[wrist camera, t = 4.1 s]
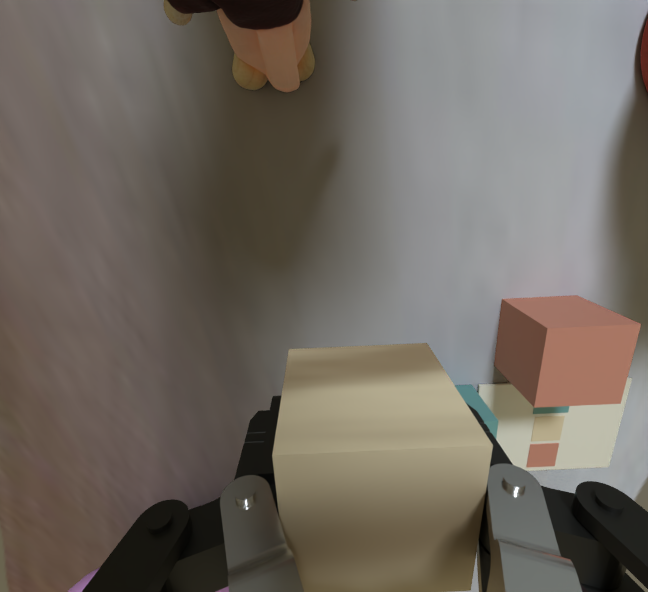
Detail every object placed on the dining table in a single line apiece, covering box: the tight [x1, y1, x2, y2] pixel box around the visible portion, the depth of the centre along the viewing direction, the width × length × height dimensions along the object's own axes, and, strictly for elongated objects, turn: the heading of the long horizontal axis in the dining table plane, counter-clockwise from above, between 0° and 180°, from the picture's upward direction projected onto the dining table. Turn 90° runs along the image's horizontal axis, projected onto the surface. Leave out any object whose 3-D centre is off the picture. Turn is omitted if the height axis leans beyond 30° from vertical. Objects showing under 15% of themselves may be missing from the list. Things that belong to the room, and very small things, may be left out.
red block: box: [494, 295, 641, 408], centre depth 22 cm, size 5×5×5 cm
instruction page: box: [478, 377, 632, 471], centre depth 26 cm, size 8×11×1 cm
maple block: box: [272, 343, 493, 592], centre depth 11 cm, size 5×5×5 cm
